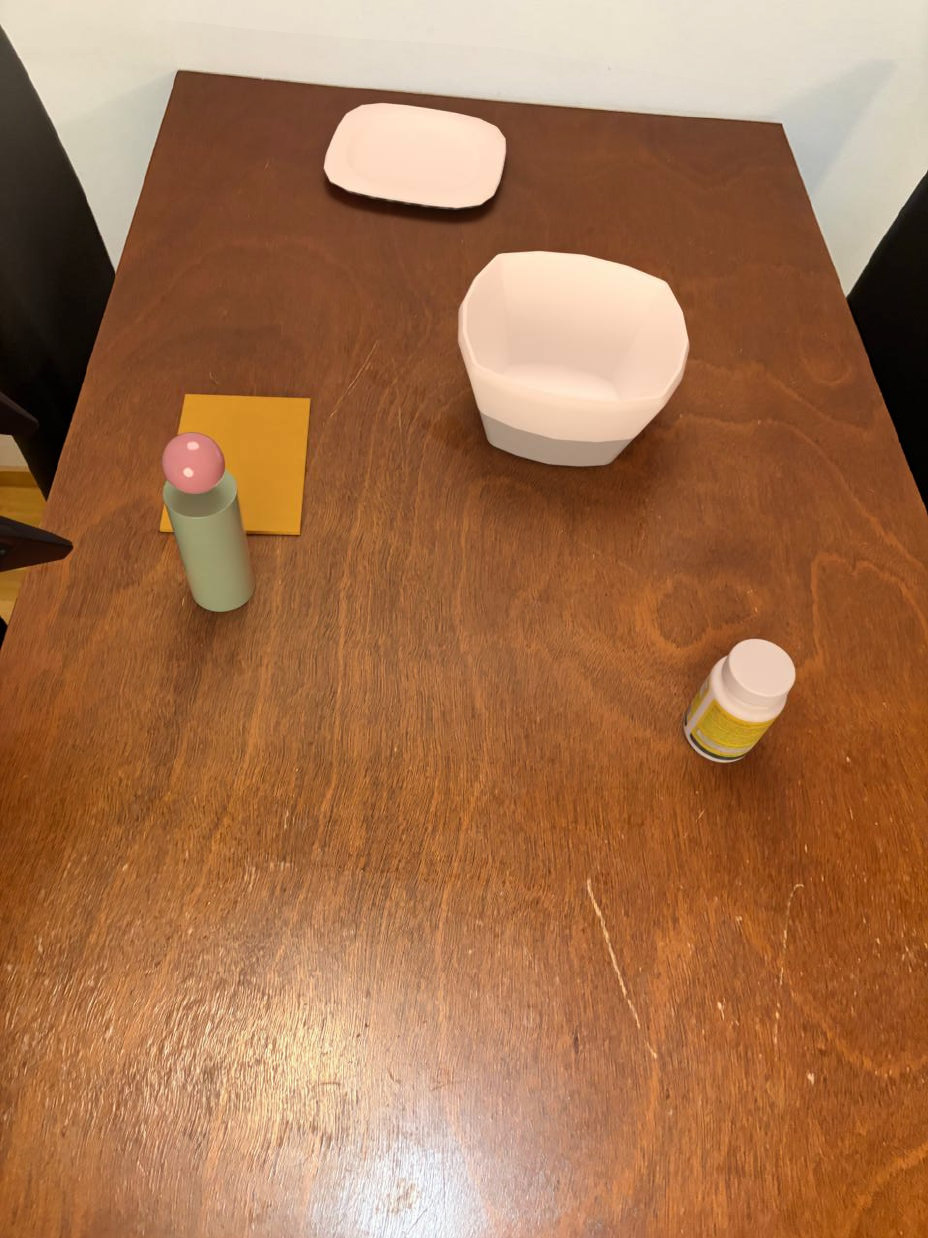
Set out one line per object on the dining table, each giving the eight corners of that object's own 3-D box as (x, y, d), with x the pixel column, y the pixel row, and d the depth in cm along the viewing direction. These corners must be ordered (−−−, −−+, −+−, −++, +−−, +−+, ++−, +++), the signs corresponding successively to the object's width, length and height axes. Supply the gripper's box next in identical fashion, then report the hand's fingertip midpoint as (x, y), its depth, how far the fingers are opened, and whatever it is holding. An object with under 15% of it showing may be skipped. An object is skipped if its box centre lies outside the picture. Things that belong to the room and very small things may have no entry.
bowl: (661, 362, 79) (693, 270, 72) (656, 511, 69) (691, 422, 62) (465, 329, 80) (475, 233, 72) (432, 473, 70) (440, 379, 62)
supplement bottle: (762, 760, 58) (815, 699, 51) (693, 768, 57) (738, 707, 50) (738, 696, 61) (785, 629, 54) (673, 703, 60) (712, 636, 53)
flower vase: (247, 615, 61) (217, 474, 49) (183, 608, 61) (138, 464, 49) (261, 564, 63) (235, 418, 52) (199, 557, 63) (160, 409, 52)
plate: (312, 200, 89) (311, 184, 87) (350, 110, 99) (349, 94, 97) (491, 229, 88) (493, 213, 87) (510, 135, 99) (512, 119, 97)
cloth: (300, 535, 65) (299, 531, 65) (160, 531, 64) (159, 528, 64) (310, 401, 73) (310, 398, 73) (186, 397, 72) (185, 393, 72)
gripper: (-207, 392, 29) (186, 520, 41) (-238, 92, 37) (96, 274, 50) (-340, 599, 33) (55, 658, 45) (-340, 286, 41) (-8, 409, 54)
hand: (51, 487), depth 49 cm, fingers open, 9 cm apart
